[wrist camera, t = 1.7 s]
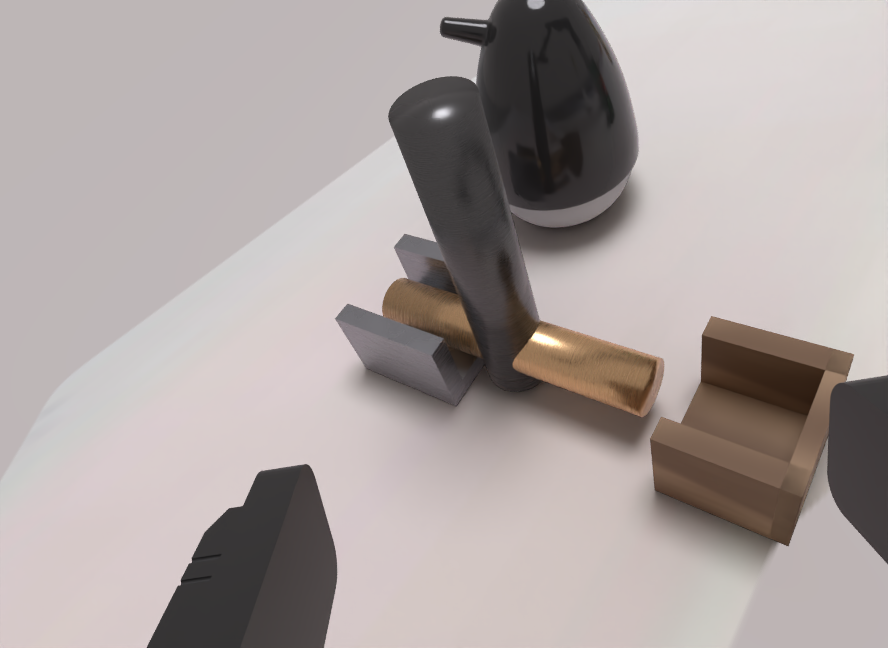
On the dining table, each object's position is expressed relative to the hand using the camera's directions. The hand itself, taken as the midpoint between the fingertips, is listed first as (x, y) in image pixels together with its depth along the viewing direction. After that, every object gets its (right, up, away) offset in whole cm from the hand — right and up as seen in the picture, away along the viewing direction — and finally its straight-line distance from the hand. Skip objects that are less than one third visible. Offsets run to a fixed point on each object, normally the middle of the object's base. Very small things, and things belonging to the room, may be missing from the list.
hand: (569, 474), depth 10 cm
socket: (+13, -4, +22) cm, 25 cm away
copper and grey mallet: (+3, 0, +28) cm, 29 cm away
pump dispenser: (+7, +11, +37) cm, 39 cm away
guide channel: (-2, +1, +32) cm, 32 cm away
